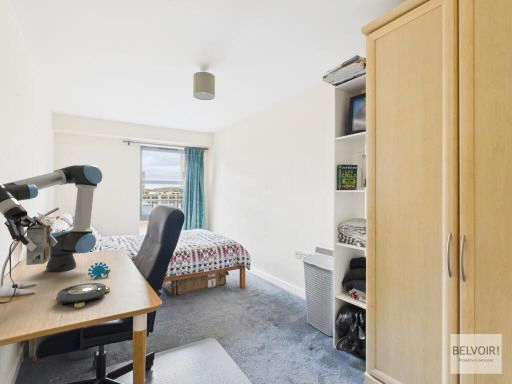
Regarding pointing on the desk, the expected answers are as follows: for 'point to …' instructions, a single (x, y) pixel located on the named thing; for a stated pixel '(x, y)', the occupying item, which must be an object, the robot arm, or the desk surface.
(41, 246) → the coffee box
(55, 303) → the desk surface
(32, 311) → the desk surface
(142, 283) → the desk surface
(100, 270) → the gear
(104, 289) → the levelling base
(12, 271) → the desk surface
